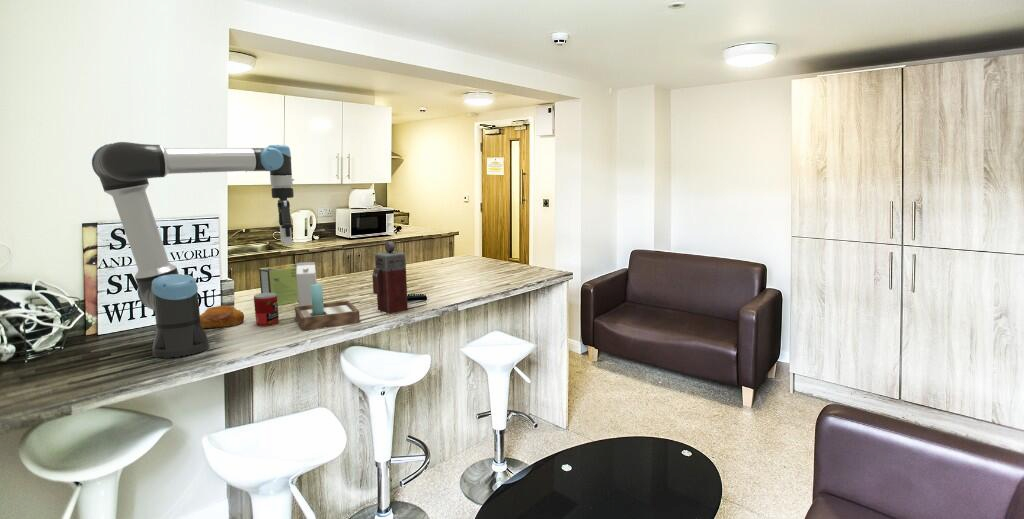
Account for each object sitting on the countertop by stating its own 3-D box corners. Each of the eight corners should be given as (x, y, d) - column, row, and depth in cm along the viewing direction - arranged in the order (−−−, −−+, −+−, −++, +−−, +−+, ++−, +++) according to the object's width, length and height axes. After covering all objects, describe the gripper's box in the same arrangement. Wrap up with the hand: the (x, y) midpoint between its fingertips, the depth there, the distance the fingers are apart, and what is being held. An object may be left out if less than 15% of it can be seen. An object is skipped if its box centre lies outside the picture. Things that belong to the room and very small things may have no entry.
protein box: (306, 300, 234) (304, 265, 231) (271, 306, 222) (268, 270, 220) (295, 297, 240) (293, 263, 238) (261, 303, 229) (258, 268, 227)
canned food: (270, 326, 191) (268, 297, 190) (251, 326, 193) (248, 296, 191) (283, 321, 199) (281, 292, 197) (264, 320, 200) (262, 292, 199)
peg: (314, 323, 195) (311, 286, 193) (312, 321, 198) (309, 284, 196) (325, 322, 197) (322, 285, 195) (323, 319, 200) (321, 283, 198)
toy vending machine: (372, 310, 213) (368, 242, 209) (396, 306, 220) (393, 239, 216) (383, 314, 206) (379, 243, 202) (408, 309, 214) (405, 241, 210)
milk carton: (300, 306, 223) (297, 261, 220) (318, 304, 225) (315, 260, 222) (299, 310, 216) (295, 264, 213) (317, 308, 218) (314, 263, 215)
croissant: (240, 332, 192) (241, 311, 191) (192, 330, 188) (193, 309, 187) (248, 321, 206) (249, 302, 205) (203, 319, 201) (204, 299, 200)
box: (302, 330, 186) (301, 318, 185) (295, 318, 203) (294, 306, 202) (359, 322, 195) (359, 311, 194) (348, 311, 212) (348, 300, 212)
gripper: (297, 187, 188) (301, 246, 191) (289, 187, 209) (293, 240, 213) (274, 187, 184) (278, 247, 187) (268, 187, 206) (273, 241, 209)
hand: (286, 243), depth 200 cm, fingers open, 13 cm apart
